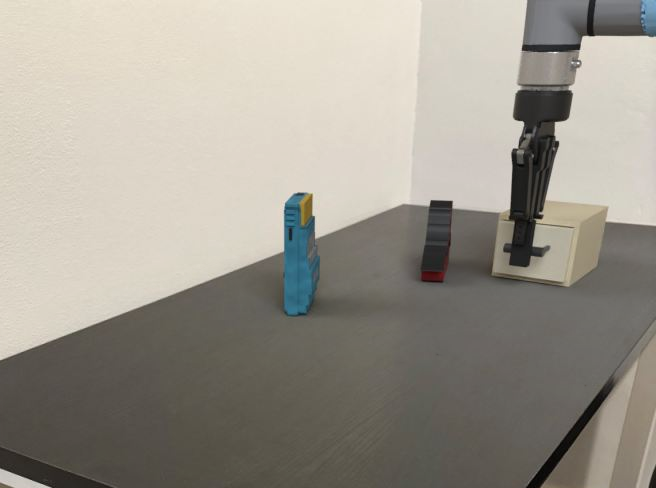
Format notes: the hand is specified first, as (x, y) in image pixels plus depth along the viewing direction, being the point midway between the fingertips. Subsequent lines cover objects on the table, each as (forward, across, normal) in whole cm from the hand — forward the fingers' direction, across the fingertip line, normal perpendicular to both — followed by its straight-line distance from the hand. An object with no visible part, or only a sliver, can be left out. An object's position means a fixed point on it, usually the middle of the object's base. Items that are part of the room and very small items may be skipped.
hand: (519, 265), depth 119 cm
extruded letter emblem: (+4, +4, +15) cm, 16 cm away
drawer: (+3, +10, 0) cm, 10 cm away
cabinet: (+4, +13, 0) cm, 14 cm away
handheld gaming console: (+4, -24, +23) cm, 34 cm away
